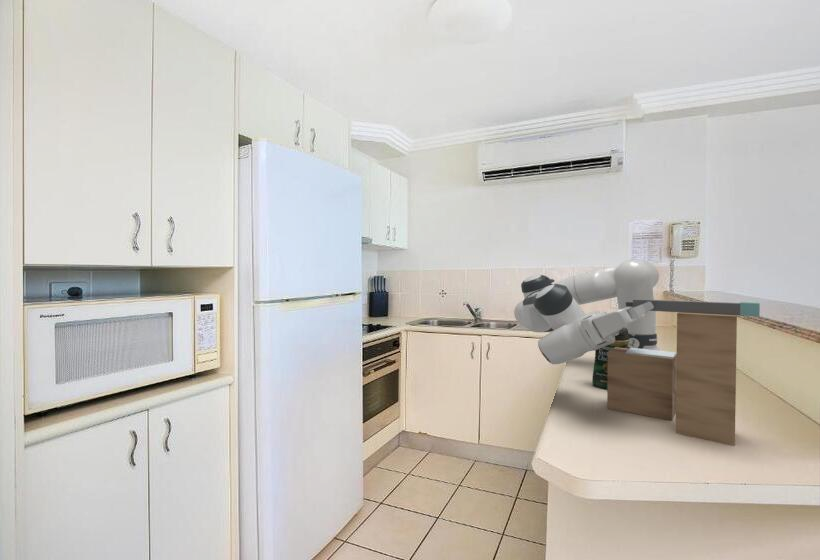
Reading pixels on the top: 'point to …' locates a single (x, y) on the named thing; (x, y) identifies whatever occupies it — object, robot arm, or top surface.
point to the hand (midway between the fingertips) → (654, 303)
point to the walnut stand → (683, 379)
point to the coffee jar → (602, 358)
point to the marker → (701, 307)
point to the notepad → (651, 353)
